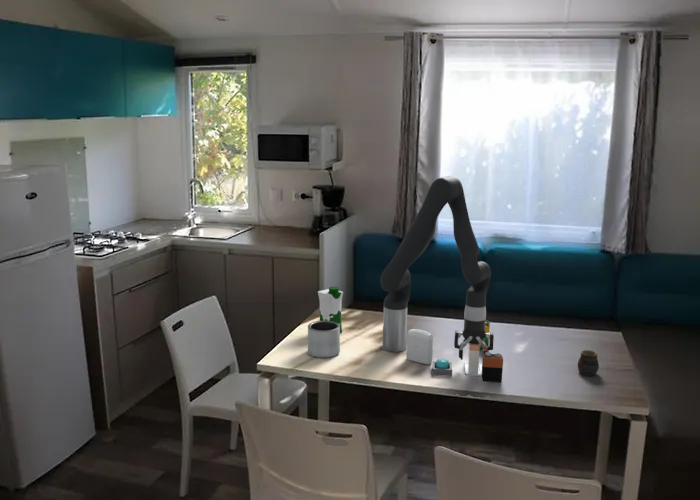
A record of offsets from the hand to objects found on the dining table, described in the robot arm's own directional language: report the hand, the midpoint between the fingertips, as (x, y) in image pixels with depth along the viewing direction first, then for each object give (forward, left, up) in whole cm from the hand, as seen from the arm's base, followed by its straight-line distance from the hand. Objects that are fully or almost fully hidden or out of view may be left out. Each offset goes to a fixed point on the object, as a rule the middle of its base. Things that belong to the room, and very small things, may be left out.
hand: (472, 359), depth 241 cm
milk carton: (-58, +32, -4) cm, 66 cm away
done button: (-11, -3, -3) cm, 12 cm away
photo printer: (-20, +6, -4) cm, 21 cm away
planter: (-57, +9, -4) cm, 57 cm away
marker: (0, -2, -3) cm, 4 cm away
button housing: (-11, -3, -4) cm, 12 cm away
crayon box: (+4, +24, -4) cm, 25 cm away
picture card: (+3, 0, -4) cm, 5 cm away
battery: (+6, -8, -4) cm, 11 cm away
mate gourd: (+41, +3, -4) cm, 42 cm away
